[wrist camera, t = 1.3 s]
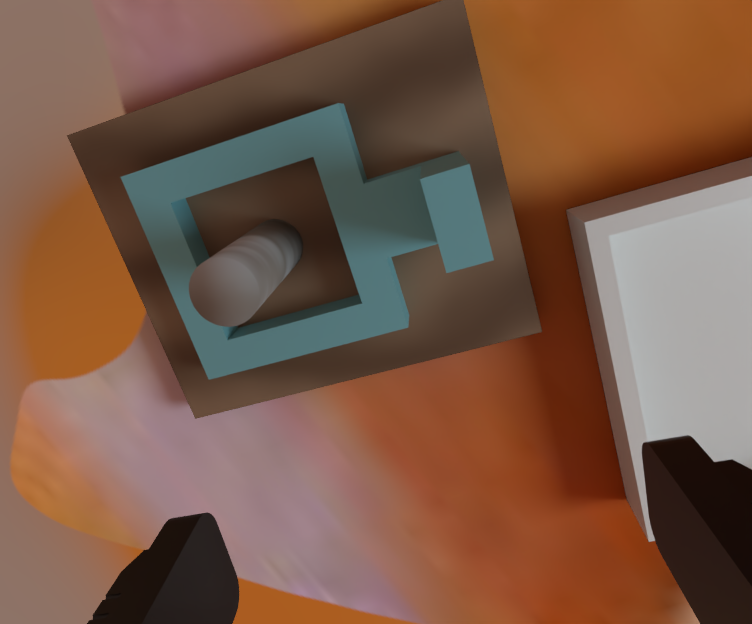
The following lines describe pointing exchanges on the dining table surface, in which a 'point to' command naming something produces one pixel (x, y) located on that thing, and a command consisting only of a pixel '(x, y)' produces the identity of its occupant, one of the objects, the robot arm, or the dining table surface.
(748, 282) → the tray
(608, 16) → the dining table surface
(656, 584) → the dining table surface
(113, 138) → the stake board
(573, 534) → the dining table surface
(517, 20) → the dining table surface
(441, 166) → the teal frame with handle
